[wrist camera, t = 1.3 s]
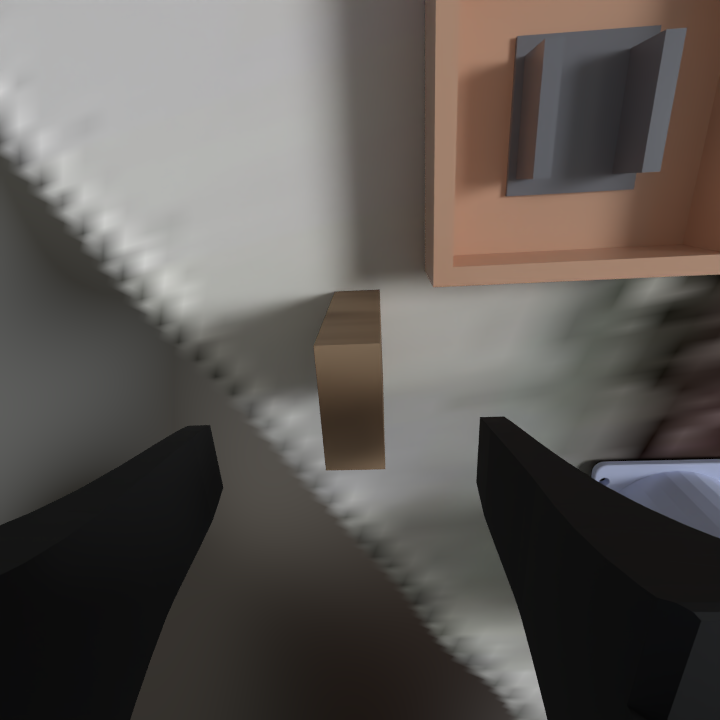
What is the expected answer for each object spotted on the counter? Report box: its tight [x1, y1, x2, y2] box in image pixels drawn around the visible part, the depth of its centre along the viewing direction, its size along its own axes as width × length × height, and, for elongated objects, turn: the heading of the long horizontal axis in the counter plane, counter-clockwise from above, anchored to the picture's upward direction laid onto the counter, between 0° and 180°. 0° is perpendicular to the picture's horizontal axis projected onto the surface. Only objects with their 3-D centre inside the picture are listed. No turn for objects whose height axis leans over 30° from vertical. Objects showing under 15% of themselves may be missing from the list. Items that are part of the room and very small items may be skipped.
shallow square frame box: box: [425, 0, 720, 287], centre depth 15 cm, size 11×11×3 cm
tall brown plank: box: [314, 290, 385, 470], centre depth 17 cm, size 4×2×7 cm, turn 3°
